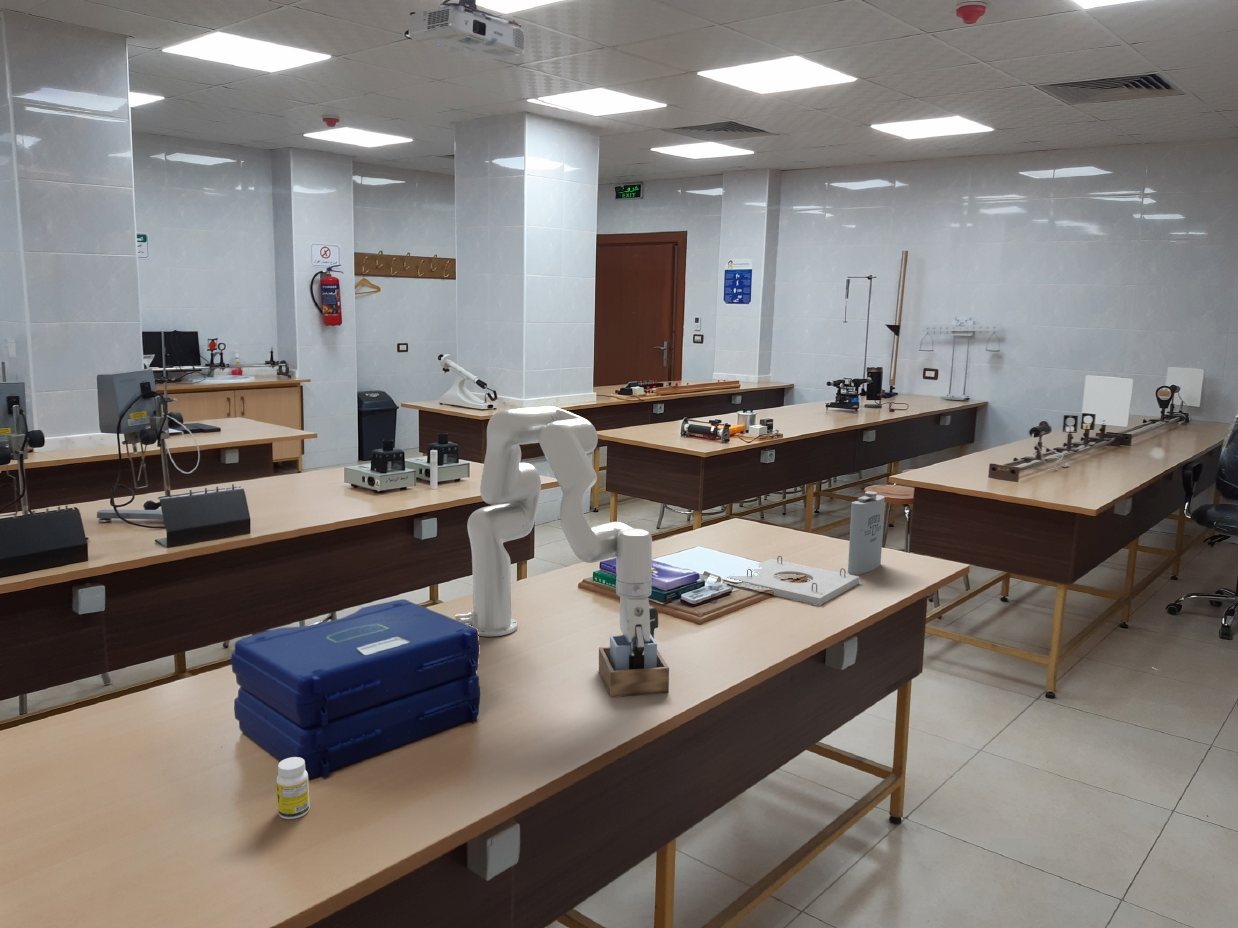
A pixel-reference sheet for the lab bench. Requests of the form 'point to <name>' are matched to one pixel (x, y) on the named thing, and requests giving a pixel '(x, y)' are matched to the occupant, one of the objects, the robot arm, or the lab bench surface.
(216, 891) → the lab bench surface
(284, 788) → the supplement bottle
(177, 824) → the lab bench surface
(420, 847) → the lab bench surface
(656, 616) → the black upright device
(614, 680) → the open wooden box
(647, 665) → the box
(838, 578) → the mounting panel
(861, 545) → the flask
